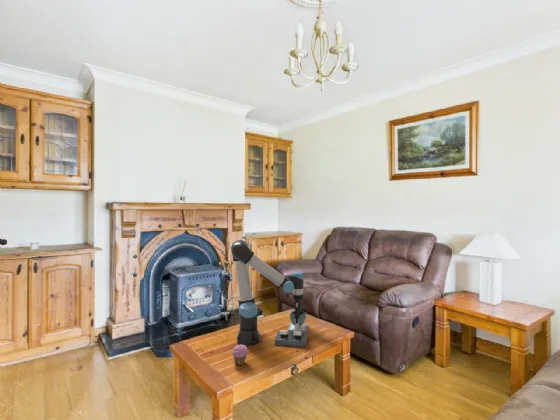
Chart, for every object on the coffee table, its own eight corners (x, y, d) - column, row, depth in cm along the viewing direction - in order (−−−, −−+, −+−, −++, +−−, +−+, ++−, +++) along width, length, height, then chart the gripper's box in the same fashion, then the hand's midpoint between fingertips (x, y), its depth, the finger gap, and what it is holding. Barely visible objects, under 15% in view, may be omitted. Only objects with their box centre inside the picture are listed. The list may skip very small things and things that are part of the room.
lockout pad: (287, 332, 214) (287, 329, 214) (290, 324, 226) (290, 322, 226) (306, 333, 211) (306, 331, 211) (307, 325, 224) (307, 323, 224)
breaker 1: (279, 334, 197) (279, 330, 197) (281, 333, 204) (281, 329, 205) (286, 334, 196) (286, 330, 197) (288, 333, 203) (288, 330, 204)
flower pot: (299, 328, 213) (299, 315, 212) (289, 325, 218) (289, 313, 218) (306, 324, 220) (306, 312, 219) (296, 321, 225) (296, 309, 225)
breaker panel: (274, 344, 194) (274, 338, 194) (278, 335, 208) (278, 329, 208) (305, 347, 191) (305, 340, 191) (307, 337, 205) (307, 331, 205)
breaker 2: (293, 335, 195) (293, 331, 196) (294, 334, 203) (295, 330, 203) (300, 335, 194) (300, 331, 195) (301, 334, 202) (301, 331, 203)
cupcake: (229, 364, 171) (229, 346, 171) (238, 357, 178) (238, 340, 178) (241, 368, 166) (241, 350, 166) (251, 361, 174) (251, 344, 174)
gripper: (301, 299, 206) (301, 331, 207) (304, 289, 229) (304, 318, 230) (290, 298, 208) (290, 330, 208) (294, 289, 230) (294, 318, 231)
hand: (297, 324), depth 219 cm, fingers closed on flower pot, 10 cm apart
